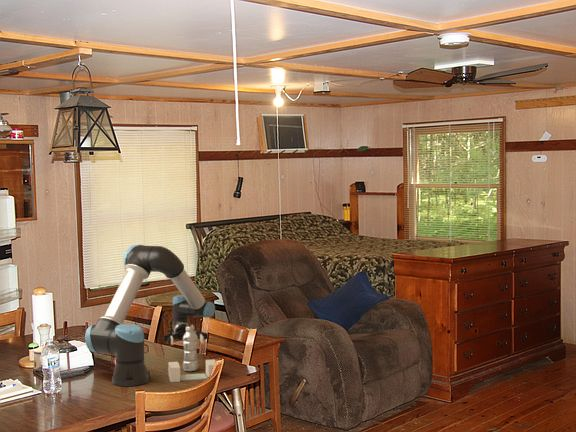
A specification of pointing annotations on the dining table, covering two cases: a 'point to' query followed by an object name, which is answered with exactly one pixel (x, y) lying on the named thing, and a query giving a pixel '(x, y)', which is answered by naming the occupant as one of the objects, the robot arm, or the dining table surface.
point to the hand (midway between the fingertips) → (187, 341)
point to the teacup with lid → (37, 357)
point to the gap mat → (193, 377)
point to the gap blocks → (175, 370)
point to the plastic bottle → (190, 349)
